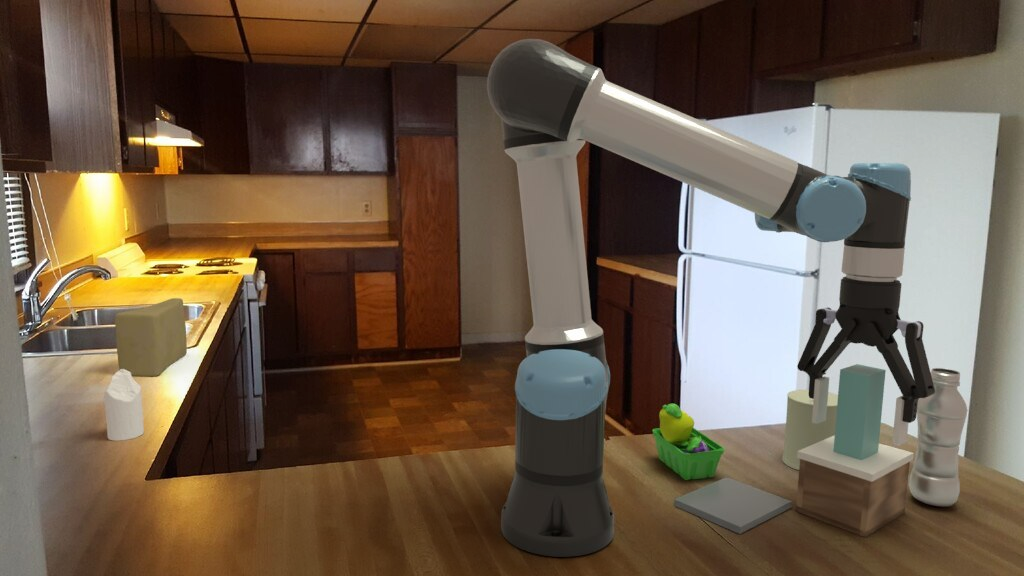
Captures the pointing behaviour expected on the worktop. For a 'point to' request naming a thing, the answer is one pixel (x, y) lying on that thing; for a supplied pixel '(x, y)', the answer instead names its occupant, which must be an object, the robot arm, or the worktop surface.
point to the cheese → (151, 337)
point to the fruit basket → (685, 445)
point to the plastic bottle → (939, 441)
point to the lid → (858, 429)
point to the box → (851, 497)
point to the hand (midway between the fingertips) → (857, 432)
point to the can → (805, 425)
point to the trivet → (733, 504)
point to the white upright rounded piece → (123, 407)
